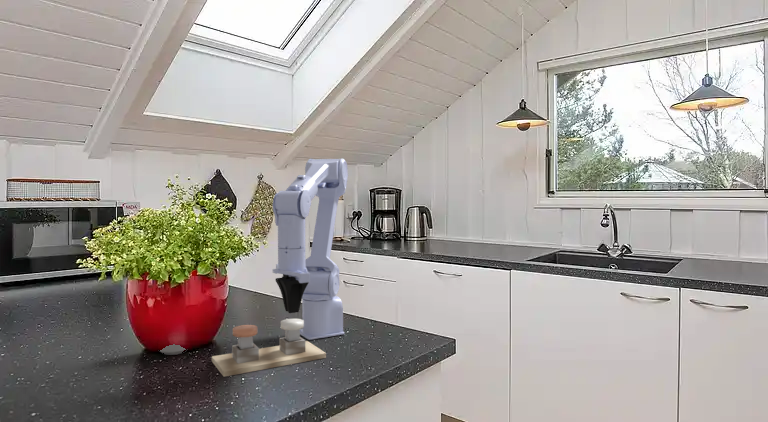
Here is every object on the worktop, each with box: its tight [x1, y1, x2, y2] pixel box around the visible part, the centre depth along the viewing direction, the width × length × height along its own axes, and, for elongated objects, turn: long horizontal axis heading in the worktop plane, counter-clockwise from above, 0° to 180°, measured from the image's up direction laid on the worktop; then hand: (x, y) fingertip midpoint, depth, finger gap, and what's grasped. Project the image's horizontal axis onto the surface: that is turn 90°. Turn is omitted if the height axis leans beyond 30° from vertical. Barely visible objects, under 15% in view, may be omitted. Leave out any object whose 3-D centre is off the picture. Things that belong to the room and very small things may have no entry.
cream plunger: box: [280, 318, 304, 341], centre depth 107 cm, size 5×5×4 cm
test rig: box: [211, 336, 327, 377], centre depth 105 cm, size 21×10×4 cm, turn 121°
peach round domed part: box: [232, 324, 258, 349], centre depth 102 cm, size 5×5×4 cm
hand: (292, 311), depth 107 cm, fingers closed
